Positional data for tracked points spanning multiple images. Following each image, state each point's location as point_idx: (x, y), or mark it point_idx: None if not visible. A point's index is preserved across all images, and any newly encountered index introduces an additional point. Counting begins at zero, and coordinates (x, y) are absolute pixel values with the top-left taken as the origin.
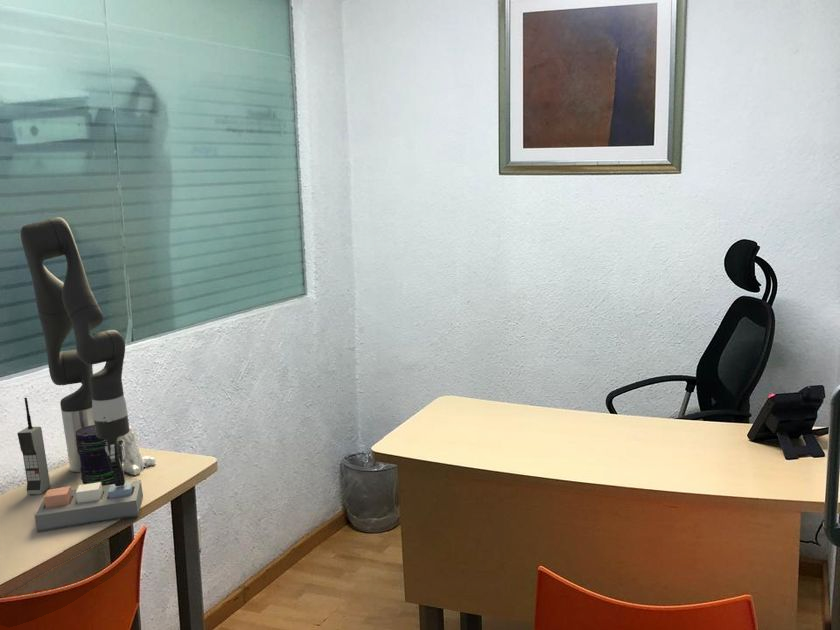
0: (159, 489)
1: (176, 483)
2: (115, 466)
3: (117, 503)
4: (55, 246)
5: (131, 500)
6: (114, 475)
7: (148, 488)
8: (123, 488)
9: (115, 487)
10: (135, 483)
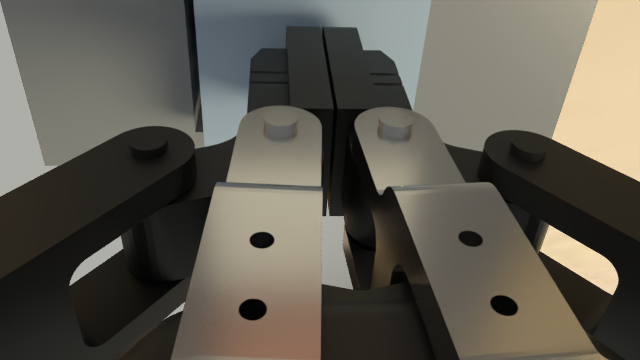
0: None
1: (574, 261)
2: (142, 238)
3: (6, 18)
4: None
5: (49, 133)
6: (290, 90)
7: (615, 125)
8: (242, 91)
9: (316, 8)
10: (484, 134)
